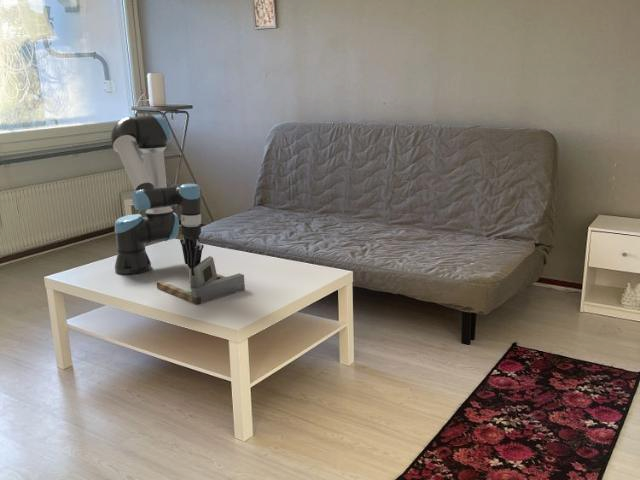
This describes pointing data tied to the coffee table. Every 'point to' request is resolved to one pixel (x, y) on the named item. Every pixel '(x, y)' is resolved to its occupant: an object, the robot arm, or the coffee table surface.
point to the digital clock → (204, 272)
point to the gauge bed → (180, 291)
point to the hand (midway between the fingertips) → (192, 282)
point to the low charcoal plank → (218, 288)
